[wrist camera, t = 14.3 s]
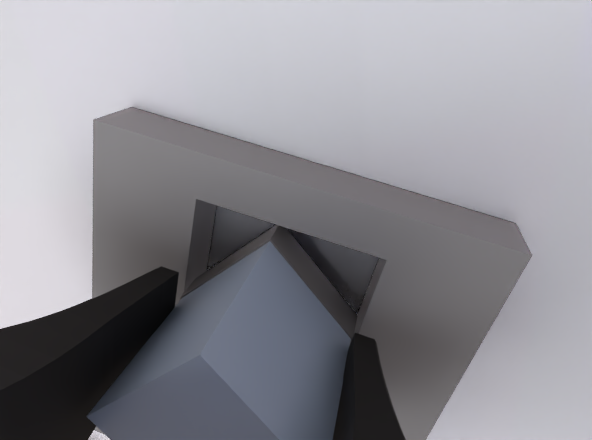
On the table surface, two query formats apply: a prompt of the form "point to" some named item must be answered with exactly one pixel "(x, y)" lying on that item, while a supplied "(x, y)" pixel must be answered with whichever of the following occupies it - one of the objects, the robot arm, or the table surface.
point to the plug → (240, 355)
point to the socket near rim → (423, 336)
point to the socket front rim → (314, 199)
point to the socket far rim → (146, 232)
